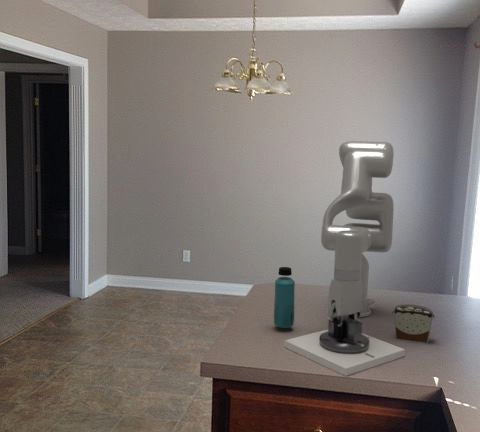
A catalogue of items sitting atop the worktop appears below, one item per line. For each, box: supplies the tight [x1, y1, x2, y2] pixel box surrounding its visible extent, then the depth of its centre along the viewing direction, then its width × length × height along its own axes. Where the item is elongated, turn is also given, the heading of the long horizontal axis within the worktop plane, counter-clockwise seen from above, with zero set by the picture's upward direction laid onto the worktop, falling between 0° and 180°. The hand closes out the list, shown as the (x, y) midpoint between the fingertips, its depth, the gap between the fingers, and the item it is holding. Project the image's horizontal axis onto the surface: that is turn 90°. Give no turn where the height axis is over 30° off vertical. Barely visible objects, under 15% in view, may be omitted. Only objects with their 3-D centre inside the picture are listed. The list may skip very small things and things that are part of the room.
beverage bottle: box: [273, 266, 296, 329], centre depth 178 cm, size 6×7×20 cm
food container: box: [392, 303, 436, 345], centre depth 173 cm, size 12×6×10 cm, turn 71°
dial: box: [319, 316, 369, 354], centre depth 161 cm, size 14×14×8 cm
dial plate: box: [283, 329, 406, 377], centre depth 162 cm, size 24×24×2 cm
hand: (344, 336), depth 161 cm, fingers open, 4 cm apart
